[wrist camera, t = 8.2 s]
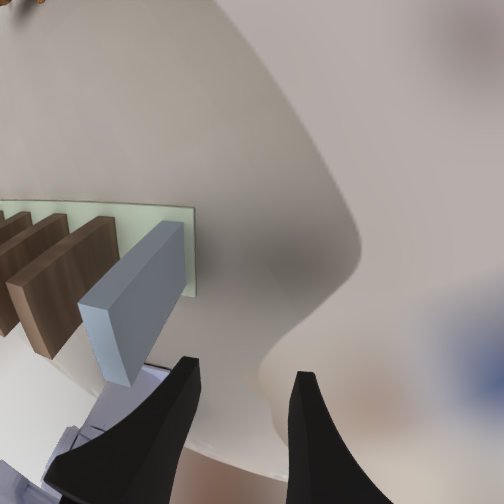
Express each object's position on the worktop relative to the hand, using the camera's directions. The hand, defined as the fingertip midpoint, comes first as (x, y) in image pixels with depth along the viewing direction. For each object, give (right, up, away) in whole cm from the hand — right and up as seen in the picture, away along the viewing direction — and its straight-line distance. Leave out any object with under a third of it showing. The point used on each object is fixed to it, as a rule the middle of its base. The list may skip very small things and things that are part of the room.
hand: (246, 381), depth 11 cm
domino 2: (-11, +6, +10) cm, 16 cm away
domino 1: (-5, +5, +10) cm, 12 cm away
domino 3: (-16, +6, +10) cm, 20 cm away
